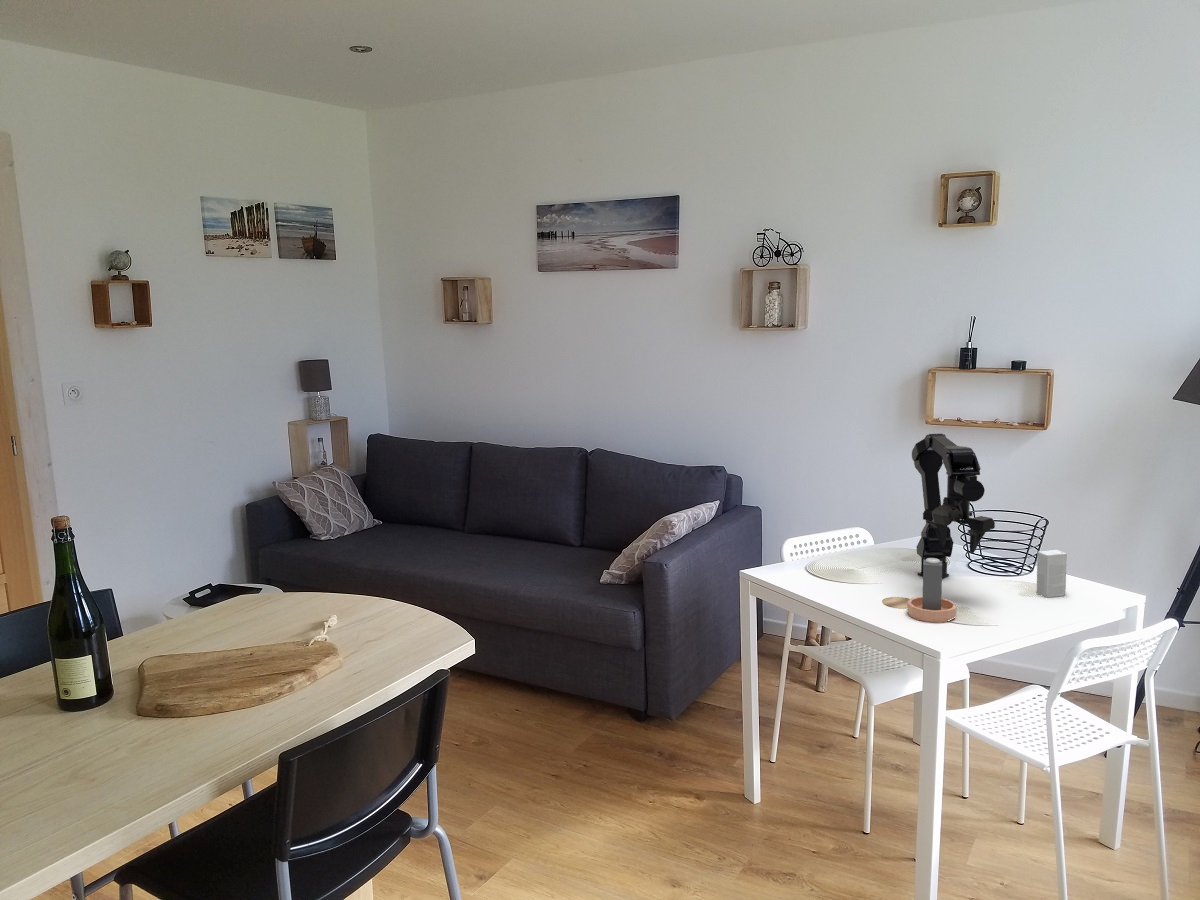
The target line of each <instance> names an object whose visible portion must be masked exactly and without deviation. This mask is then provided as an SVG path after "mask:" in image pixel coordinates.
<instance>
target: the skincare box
mask: <svg viewBox="0 0 1200 900" xmlns="http://www.w3.org/2000/svg"><path fill="white" fill-rule="evenodd" d="M1067 555H1068V554H1067V553H1066V552H1064V551H1061V550H1059V549H1052V550H1050V549H1049V550H1041V551H1040V550H1039V551H1037V556H1036V557H1037V558H1036V560H1037V561H1036V562H1037V563H1036V564H1037V566H1036V594H1037V593H1038V594H1037V595H1039V594H1040V595H1039V596H1041V595H1042V596H1041V597H1043V596H1044V597H1043V598H1045V599H1046V598H1047V597H1048V598H1056V597H1061V596H1062V597H1064V596H1066V593H1067V591H1066V590H1067V586H1066V585H1067V559H1068V556H1067Z"/></svg>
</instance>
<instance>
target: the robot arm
mask: <svg viewBox="0 0 1200 900" xmlns="http://www.w3.org/2000/svg"><path fill="white" fill-rule="evenodd" d="M911 459H912V461H913V465H914V468H915V469H916V470H917V472H918V473H919V474H920V477H921V483H922V485H921V486H922V487H921V488H922V496H923V508H924V510H923V512H922V520H923V521H925V525H924V527H923V528H922V530H921V532H920V533H921V534H920V539H919V541H918V543H917V545H916V548H915V549H916V554H917V555H918V556H919V557H920V559H921V560H920V561H921V562H920V566H921V567H920V571H919V572H917V576H921V577H923V562H924V560H926V559H927V558H936V559H939V560H940V561H942V579H943V578H947V577H949V576H950V573H948V562H947V558H951V557H952V553H953V548H954V541H953V540H954V539H953V538H952V536H951V529H950V527H949V525H951V524H952V522H954V523H958V524H965V525H968V526H967V527H968V528H969V529H967V532H968V534H969V553H970V554H974V553H975V551H976V549H977V548H978V546H979V544H980V542H981V540H982V538H983V537H984V536H985V534H987V532H990V531H991V530H994V529H995V528H996V527H995V526H996V525H995V524H996V521H995V520H994V519H993V517H988V516H983V515H979V516H976V517H973V511H970V509H971V508H970V506H971V505H970V503H971V502H972V503H973V502H978V501H980V500H981V499H982V498H983V497H984V495H985V487H984V485H983V483H982V482H981V481H980V480H978V476H980V475H981V471H980V470H981V466H980V463H979V460H978V457H977V456H976V453H975V452H974V450H973V448H972V447H969V446H962V445H961V446H960V445H957V444H955V442H953V441H952V440H950V439H949V438H948V437H947V436H946V434H944V433H928V434H926V435H925V437H924V438H923V439H921V440H920V441H918V442H917V443H915V444H914V447H913V448H912V450H911ZM942 466H944V468H945V469H946V472H945V473H946V475H947V478H946V479H947V480H946V483H947V485H946V486H947V487H946V488H947V489H946V497H943V499H942V500H941V489H940V481H939V472H940V470H941V468H942Z"/></svg>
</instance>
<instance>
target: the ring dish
mask: <svg viewBox="0 0 1200 900" xmlns="http://www.w3.org/2000/svg"><path fill="white" fill-rule="evenodd" d="M922 604H923V596H915V597H912V598H909V601H908V603H907V609H906V610H907V615H908V616H909V617H910V618H912V619H915V620H916V621H917V620H918V621H920V622H924V623H925V622H926V623H932V624H933V623H936V624H939V623H940V624H941V623H943V624H944V623H948V622H947V621H948V620H950V619H952V618H954V617H955V616H956V617H957V611H958V610H957V607H958V605H957V603H955V602H954V601H952V600H949V599H946V598H943V597H941V610H926V609H922Z"/></svg>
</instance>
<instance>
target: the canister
mask: <svg viewBox="0 0 1200 900" xmlns="http://www.w3.org/2000/svg"><path fill="white" fill-rule="evenodd" d="M942 585H943V578H942V561H940V560H939V559H936V558H927V559H926V560H924V562H923V576H922V597H923V604H922V609H926V610H941V598H943V597H942V593H943V592H942V587H943V586H942Z"/></svg>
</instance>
